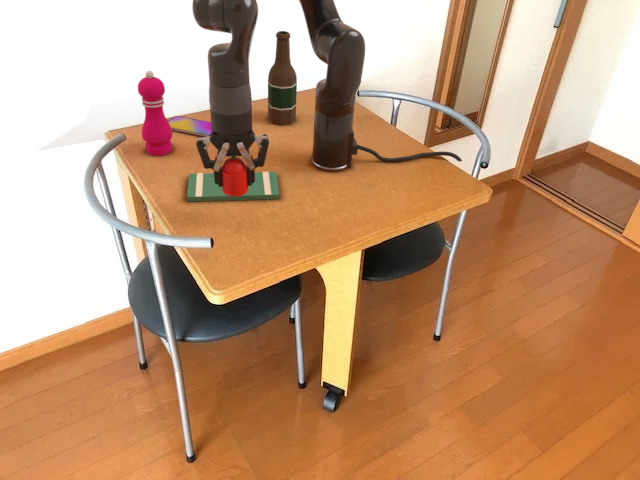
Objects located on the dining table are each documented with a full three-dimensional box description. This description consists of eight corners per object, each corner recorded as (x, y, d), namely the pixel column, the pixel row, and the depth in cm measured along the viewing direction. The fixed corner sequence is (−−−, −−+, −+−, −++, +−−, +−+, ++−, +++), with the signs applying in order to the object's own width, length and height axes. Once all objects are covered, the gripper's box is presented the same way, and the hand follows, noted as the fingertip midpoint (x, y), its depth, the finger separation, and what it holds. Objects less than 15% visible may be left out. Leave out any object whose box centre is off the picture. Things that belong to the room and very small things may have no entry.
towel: (276, 176, 130) (276, 171, 130) (279, 199, 123) (279, 194, 122) (189, 178, 127) (189, 173, 127) (187, 201, 120) (186, 196, 119)
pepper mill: (166, 158, 134) (157, 78, 122) (139, 154, 135) (126, 74, 123) (178, 145, 140) (170, 67, 128) (152, 141, 141) (141, 63, 129)
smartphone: (175, 115, 152) (225, 124, 149) (175, 117, 152) (225, 127, 149) (161, 126, 146) (213, 136, 143) (162, 128, 147) (213, 138, 143)
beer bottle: (294, 126, 152) (297, 38, 138) (266, 124, 152) (266, 36, 138) (296, 114, 159) (299, 28, 144) (269, 113, 158) (269, 27, 144)
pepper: (247, 182, 114) (246, 146, 109) (249, 195, 110) (247, 159, 104) (222, 183, 113) (219, 146, 108) (222, 197, 109) (219, 159, 104)
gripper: (189, 114, 96) (198, 196, 106) (272, 112, 98) (272, 193, 109) (191, 96, 102) (199, 176, 112) (268, 95, 104) (269, 173, 114)
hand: (235, 184), depth 110 cm, fingers closed on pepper, 5 cm apart
